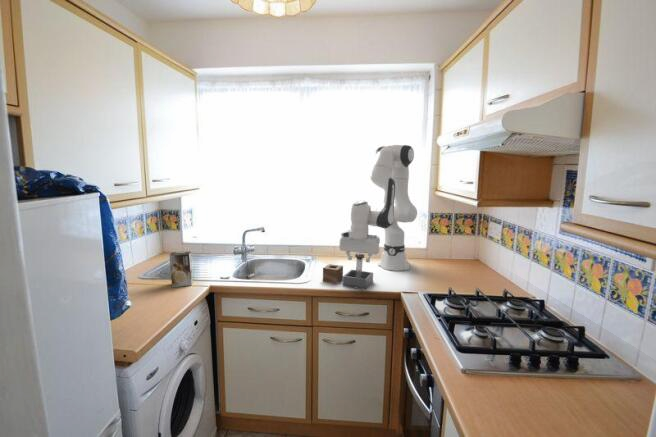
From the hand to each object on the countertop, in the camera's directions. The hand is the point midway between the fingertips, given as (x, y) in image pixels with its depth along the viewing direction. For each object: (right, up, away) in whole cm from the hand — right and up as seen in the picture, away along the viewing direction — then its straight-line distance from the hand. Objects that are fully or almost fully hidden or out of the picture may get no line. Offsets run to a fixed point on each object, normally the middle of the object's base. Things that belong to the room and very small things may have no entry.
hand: (358, 260), depth 158 cm
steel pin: (0, -11, +1) cm, 11 cm away
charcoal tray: (0, -12, +2) cm, 12 cm away
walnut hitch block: (-13, -11, +7) cm, 19 cm away
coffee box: (-88, -12, -1) cm, 89 cm away
